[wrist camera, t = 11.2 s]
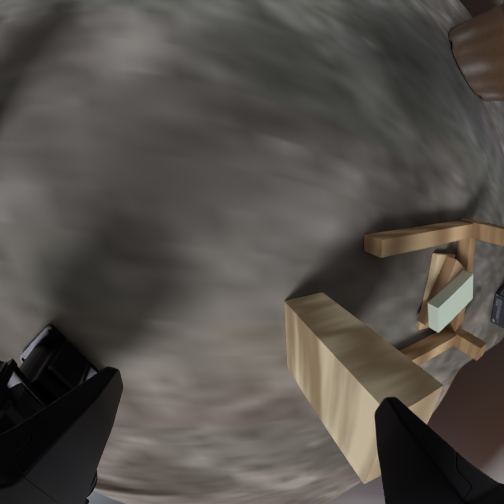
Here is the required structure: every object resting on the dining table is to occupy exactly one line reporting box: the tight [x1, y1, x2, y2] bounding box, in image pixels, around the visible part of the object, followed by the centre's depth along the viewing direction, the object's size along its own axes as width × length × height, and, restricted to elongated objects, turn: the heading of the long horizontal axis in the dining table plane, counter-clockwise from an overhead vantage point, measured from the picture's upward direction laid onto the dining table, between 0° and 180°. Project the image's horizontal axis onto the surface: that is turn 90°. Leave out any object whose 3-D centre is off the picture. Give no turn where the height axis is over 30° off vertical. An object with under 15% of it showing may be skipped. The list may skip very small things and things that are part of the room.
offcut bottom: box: [415, 253, 455, 330], centre depth 27 cm, size 4×9×2 cm, turn 176°
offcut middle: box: [417, 256, 468, 327], centre depth 26 cm, size 4×8×2 cm, turn 153°
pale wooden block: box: [284, 292, 443, 484], centre depth 17 cm, size 4×7×14 cm, turn 6°
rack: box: [364, 218, 504, 366], centre depth 23 cm, size 17×16×7 cm
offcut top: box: [428, 270, 473, 333], centre depth 24 cm, size 4×7×2 cm, turn 114°
